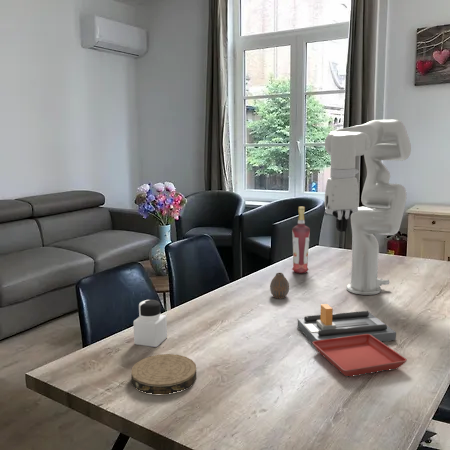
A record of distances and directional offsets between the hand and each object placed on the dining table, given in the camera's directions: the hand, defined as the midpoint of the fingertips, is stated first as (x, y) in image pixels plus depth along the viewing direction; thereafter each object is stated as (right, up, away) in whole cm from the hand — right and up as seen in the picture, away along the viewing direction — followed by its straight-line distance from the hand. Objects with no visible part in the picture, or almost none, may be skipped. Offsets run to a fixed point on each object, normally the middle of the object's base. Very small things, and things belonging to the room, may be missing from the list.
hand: (341, 230), depth 161 cm
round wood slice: (-52, -37, -37) cm, 74 cm away
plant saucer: (-3, -34, -29) cm, 45 cm away
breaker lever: (-8, -28, -13) cm, 32 cm away
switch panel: (-2, -30, -12) cm, 33 cm away
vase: (-18, -24, +21) cm, 37 cm away
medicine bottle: (-59, -32, -16) cm, 69 cm away
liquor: (-5, -18, +52) cm, 55 cm away
